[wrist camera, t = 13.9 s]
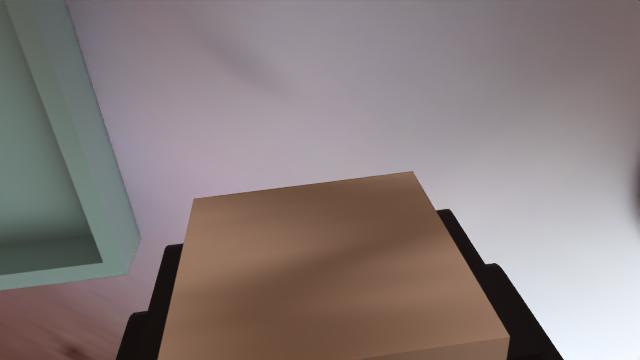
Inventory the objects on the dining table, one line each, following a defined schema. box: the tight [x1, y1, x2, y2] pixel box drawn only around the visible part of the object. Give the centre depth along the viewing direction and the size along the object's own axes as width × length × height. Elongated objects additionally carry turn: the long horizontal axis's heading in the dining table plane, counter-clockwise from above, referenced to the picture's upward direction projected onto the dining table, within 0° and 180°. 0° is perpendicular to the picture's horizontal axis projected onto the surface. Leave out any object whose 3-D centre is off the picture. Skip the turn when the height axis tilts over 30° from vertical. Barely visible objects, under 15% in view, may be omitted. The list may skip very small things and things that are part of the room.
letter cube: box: [158, 171, 510, 360], centre depth 9 cm, size 4×4×5 cm
